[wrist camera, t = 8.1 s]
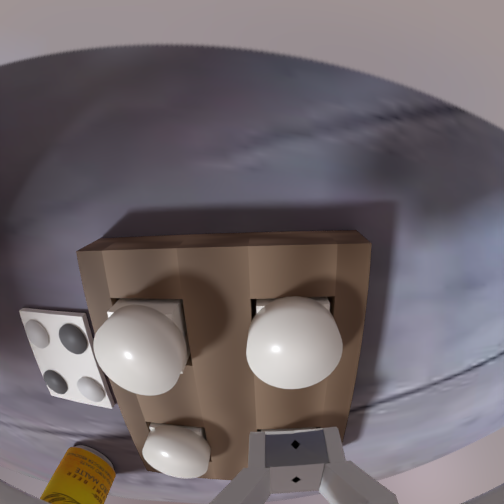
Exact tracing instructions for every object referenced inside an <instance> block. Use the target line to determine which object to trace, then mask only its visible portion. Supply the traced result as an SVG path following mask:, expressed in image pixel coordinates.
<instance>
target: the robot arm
mask: <svg viewBox="0 0 504 504" xmlns="http://www.w3.org/2000/svg"><path fill="white" fill-rule="evenodd" d="M306 491H319V492H320V493H321V494H322V495H323V496H324V497H325V498H326V499H327V501H328V502H329V503H330V504H398V501H397V498H396V495H395V494H394V493H392V492H391V491H390V490H388V489H387V488H385V487H384V486H383V485H381V484H380V483H379V482H377V481H376V480H375V479H373V478H372V477H371V476H369V475H368V474H367V473H366V472H364V471H363V470H362V469H360V468H359V467H358V466H356V465H355V464H354V463H353V462H351V461H346V459H345V455H344V450H343V446H342V442H341V438H340V434H339V430H338V428H337V427H329V428H317V429H307V430H294V431H272V432H250V435H249V455H248V468H243V469H242V470H241V471H240V472H239V473H238V475H237V476H236V477H235V478H234V479H233V480H232V481H231V482H230V483H229V484H228V485H227V486H226V487H225V488H224V489H223V490H222V491H221V492H220V493H219V494H218V495H217V496H216V497H215V498H214V499H213V500H212V501H211V502H210V503H209V504H264V503H265V502H266V500H267V499H268V498H269V496H270V494H276V493H290V492H306ZM0 504H51V503H48V502H46V501H44V500H41V499H39V498H37V497H35V496H32V495H30V494H28V493H26V492H24V491H22V490H20V489H18V488H16V487H14V486H12V485H10V484H8V483H6V482H5V481H3V480H1V479H0ZM461 504H504V483H503V484H501V485H499V486H497V487H495V488H494V489H492V490H490V491H488V492H486V493H483V494H481V495H479V496H477V497H475V498H473V499H470V500H468V501H466V502H464V503H461Z"/></svg>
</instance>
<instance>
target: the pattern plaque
mask: <svg viewBox="0 0 504 504" xmlns="http://www.w3.org/2000/svg"><path fill="white" fill-rule="evenodd" d="M19 313H20V316H21V319H22V322H23V325H24V328H25V331H26V334H27V337H28V340H29V342H30V345H31V348H32V350H33V353H34V356H35V358H36V361H37V363H38V366H39V368H40V371H41V373H42V375H43V378H44V380H45V382H46V384H47V387H48V389H49V391H50V393H51V395H52V396H56V397H60V398H64V399H68V400H72V401H76V402H81V403H85V404H90V405H95V406H100V407H106V408H111V409H113V407H114V405H115V403H114V400H113V398H112V395H111V392H110V390H109V387H108V384H107V381H106V378H105V376H104V373H103V370H102V369H101V367H100V366H99V364H98V362H97V359H96V357H95V353H94V347H93V344H94V341H93V338H92V334H91V331H90V327H89V323H88V320H87V316H86V313H77V312H64V311H52V310H41V309H31V308H22V309H20V310H19Z"/></svg>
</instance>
